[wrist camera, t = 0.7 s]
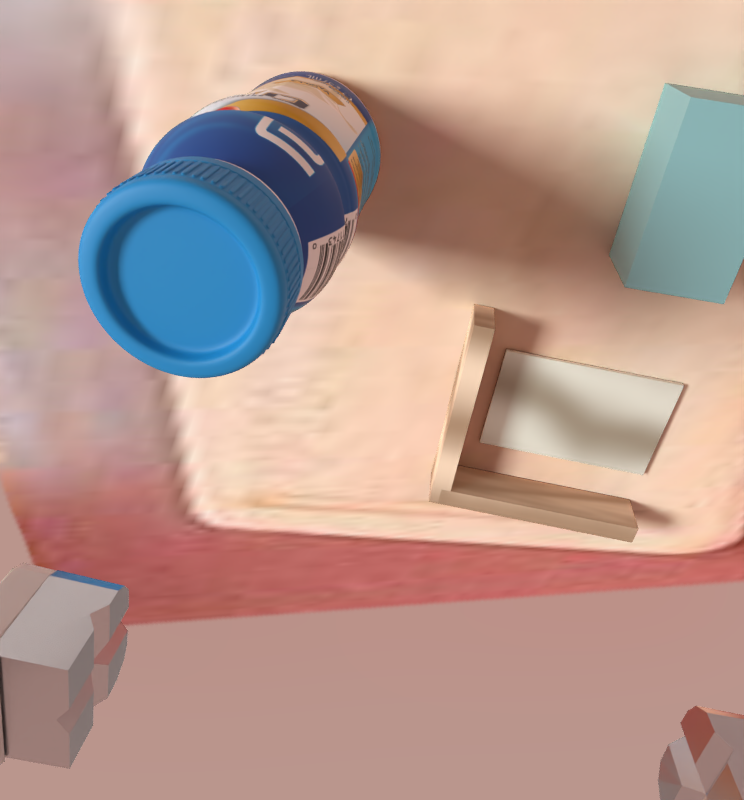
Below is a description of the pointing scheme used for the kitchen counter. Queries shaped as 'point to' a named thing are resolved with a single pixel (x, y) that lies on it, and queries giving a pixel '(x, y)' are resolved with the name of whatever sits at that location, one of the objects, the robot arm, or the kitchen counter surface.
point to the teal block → (686, 199)
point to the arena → (550, 434)
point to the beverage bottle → (231, 225)
